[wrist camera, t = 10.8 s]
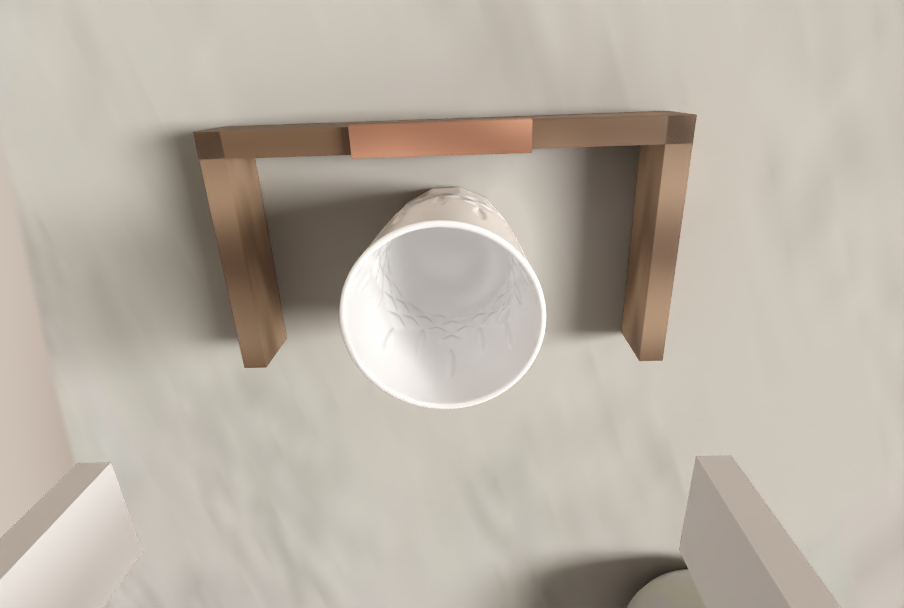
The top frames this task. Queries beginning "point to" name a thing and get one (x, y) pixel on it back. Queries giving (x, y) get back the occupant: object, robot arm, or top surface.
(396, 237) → the white cup
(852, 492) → the top surface
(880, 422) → the top surface
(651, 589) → the teacup
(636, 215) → the brown wooden open frame
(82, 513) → the robot arm
